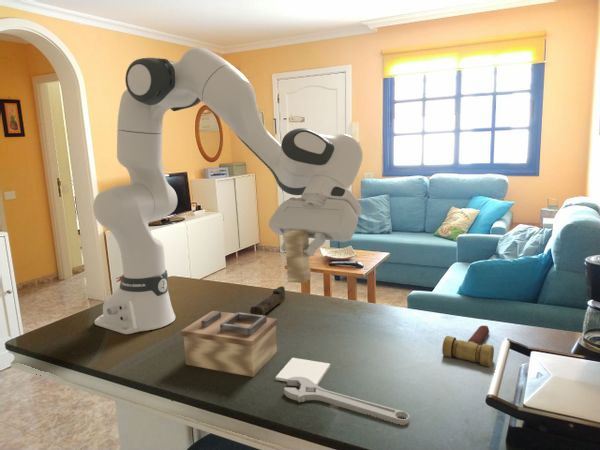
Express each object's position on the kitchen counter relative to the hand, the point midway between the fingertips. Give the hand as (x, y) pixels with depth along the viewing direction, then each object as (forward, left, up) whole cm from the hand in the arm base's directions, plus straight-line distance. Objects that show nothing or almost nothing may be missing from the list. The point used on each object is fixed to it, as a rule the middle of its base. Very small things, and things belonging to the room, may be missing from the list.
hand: (295, 252), depth 90 cm
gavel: (+35, +26, -27) cm, 51 cm away
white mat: (+1, +1, -26) cm, 26 cm away
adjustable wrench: (+11, -8, -27) cm, 30 cm away
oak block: (0, +1, -6) cm, 6 cm away
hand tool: (-23, +34, -27) cm, 49 cm away
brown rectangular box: (-17, +2, -26) cm, 32 cm away
